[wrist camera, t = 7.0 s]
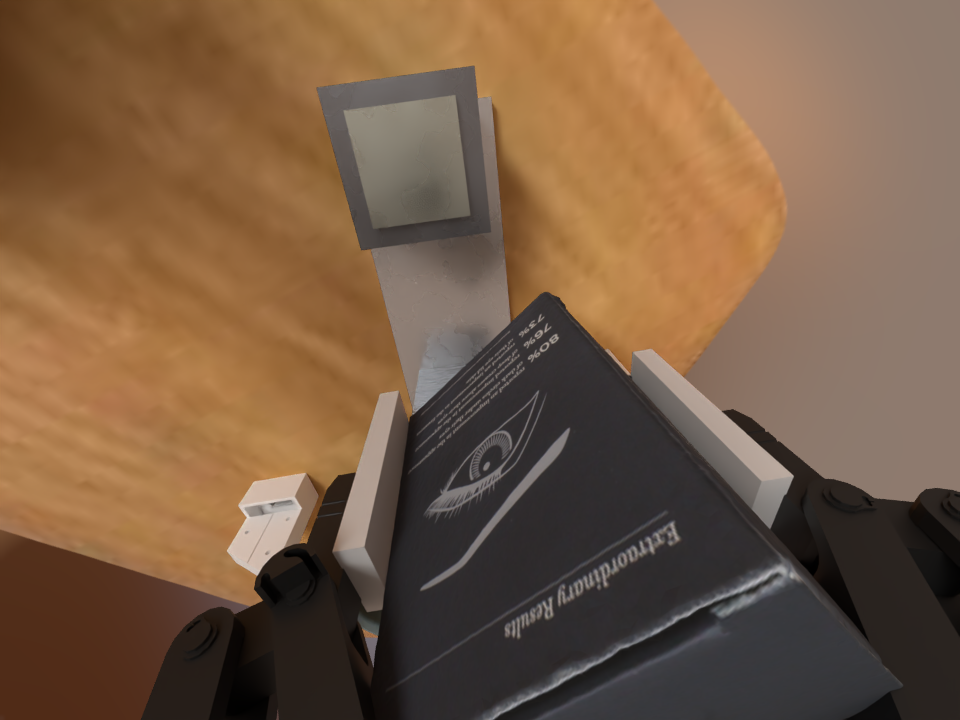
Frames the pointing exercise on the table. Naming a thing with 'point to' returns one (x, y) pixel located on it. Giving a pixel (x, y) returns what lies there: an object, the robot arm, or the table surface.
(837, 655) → the box
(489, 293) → the rail plate
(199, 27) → the table surface
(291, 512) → the white slotted bracket
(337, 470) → the table surface
